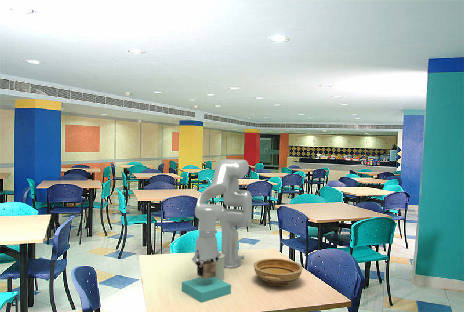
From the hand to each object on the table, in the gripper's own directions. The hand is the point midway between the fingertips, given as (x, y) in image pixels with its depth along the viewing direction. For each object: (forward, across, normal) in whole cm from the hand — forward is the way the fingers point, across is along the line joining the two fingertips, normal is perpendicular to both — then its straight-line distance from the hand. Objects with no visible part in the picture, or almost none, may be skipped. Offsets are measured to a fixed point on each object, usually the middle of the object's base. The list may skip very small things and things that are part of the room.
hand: (206, 273), depth 165 cm
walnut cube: (+1, 0, 0) cm, 1 cm away
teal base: (+9, 0, 0) cm, 9 cm away
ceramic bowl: (+9, -36, +10) cm, 39 cm away
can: (+9, -14, -12) cm, 21 cm away
